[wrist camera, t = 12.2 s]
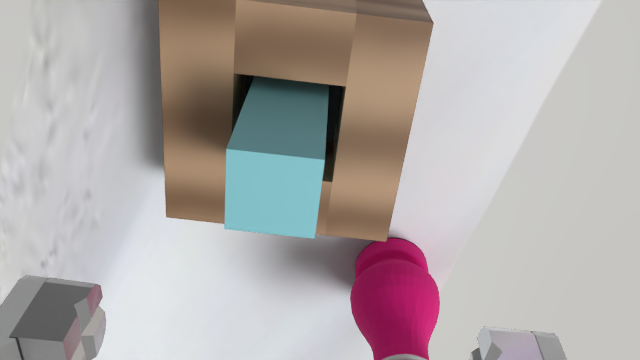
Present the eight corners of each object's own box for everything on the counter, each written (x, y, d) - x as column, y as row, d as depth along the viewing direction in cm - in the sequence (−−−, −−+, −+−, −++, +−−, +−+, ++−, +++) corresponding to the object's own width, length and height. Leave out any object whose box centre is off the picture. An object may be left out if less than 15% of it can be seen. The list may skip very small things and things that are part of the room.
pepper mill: (356, 300, 52) (362, 525, 35) (344, 237, 48) (344, 455, 31) (434, 291, 51) (481, 518, 34) (428, 227, 47) (477, 445, 30)
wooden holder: (183, -31, 37) (157, -11, 32) (421, -2, 38) (433, 23, 33) (186, 175, 46) (166, 217, 40) (381, 197, 46) (386, 241, 41)
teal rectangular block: (261, 58, 40) (226, 149, 28) (330, 66, 40) (324, 159, 28) (257, 121, 43) (224, 228, 31) (322, 128, 43) (314, 238, 31)
